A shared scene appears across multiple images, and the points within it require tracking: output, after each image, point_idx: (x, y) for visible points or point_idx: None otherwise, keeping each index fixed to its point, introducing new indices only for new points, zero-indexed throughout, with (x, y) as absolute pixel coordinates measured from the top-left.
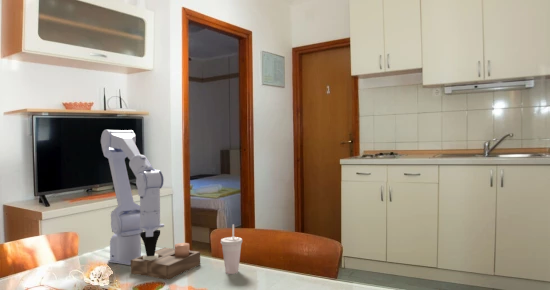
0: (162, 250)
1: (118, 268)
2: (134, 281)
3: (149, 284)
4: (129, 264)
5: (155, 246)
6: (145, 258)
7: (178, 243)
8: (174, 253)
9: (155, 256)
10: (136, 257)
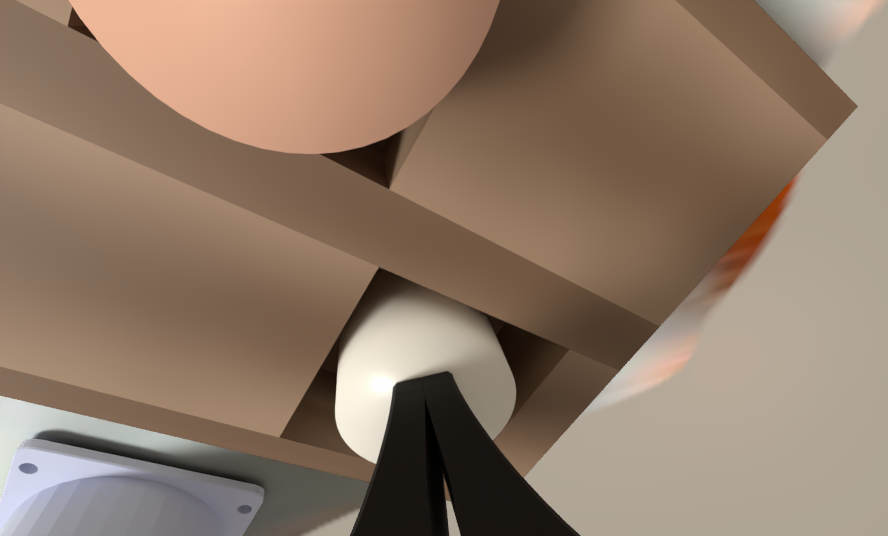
0: (76, 351)
1: (332, 516)
2: (647, 342)
3: (758, 226)
4: (263, 492)
5: (505, 457)
6: (497, 422)
7: (137, 70)
8: None
9: (487, 348)
10: (153, 511)
